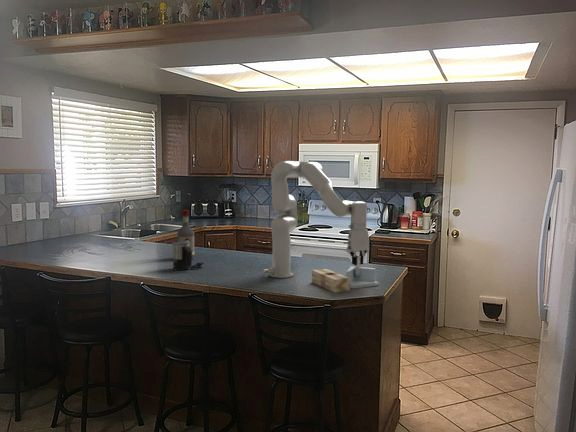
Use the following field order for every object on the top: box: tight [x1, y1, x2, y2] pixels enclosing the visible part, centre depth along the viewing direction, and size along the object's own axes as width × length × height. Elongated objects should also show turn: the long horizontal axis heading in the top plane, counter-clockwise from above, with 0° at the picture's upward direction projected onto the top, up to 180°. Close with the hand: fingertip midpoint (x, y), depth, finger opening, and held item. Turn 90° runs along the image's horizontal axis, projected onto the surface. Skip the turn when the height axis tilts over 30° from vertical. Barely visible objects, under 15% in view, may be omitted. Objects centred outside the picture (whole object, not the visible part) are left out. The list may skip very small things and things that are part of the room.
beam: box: [311, 268, 351, 293], centre depth 229 cm, size 8×22×6 cm, turn 25°
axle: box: [354, 254, 362, 278], centre depth 234 cm, size 3×3×11 cm
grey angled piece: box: [345, 265, 380, 289], centre depth 234 cm, size 17×13×8 cm
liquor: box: [177, 209, 195, 260], centre depth 293 cm, size 9×9×30 cm
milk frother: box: [171, 241, 205, 271], centre depth 266 cm, size 14×16×15 cm
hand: (357, 263), depth 234 cm, fingers closed on axle, 3 cm apart
